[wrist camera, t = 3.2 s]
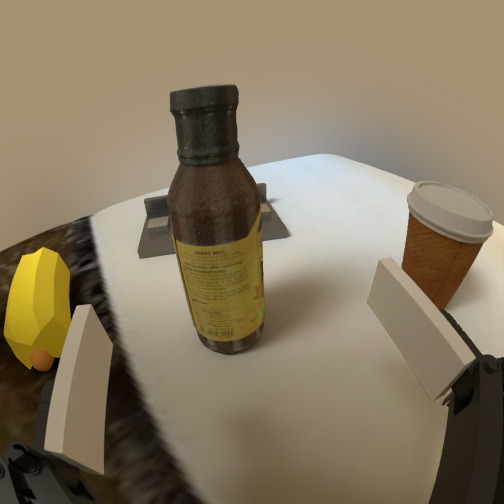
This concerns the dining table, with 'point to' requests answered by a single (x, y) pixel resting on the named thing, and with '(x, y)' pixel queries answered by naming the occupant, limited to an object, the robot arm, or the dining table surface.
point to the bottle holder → (159, 225)
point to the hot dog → (38, 309)
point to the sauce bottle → (216, 220)
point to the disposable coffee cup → (443, 238)
